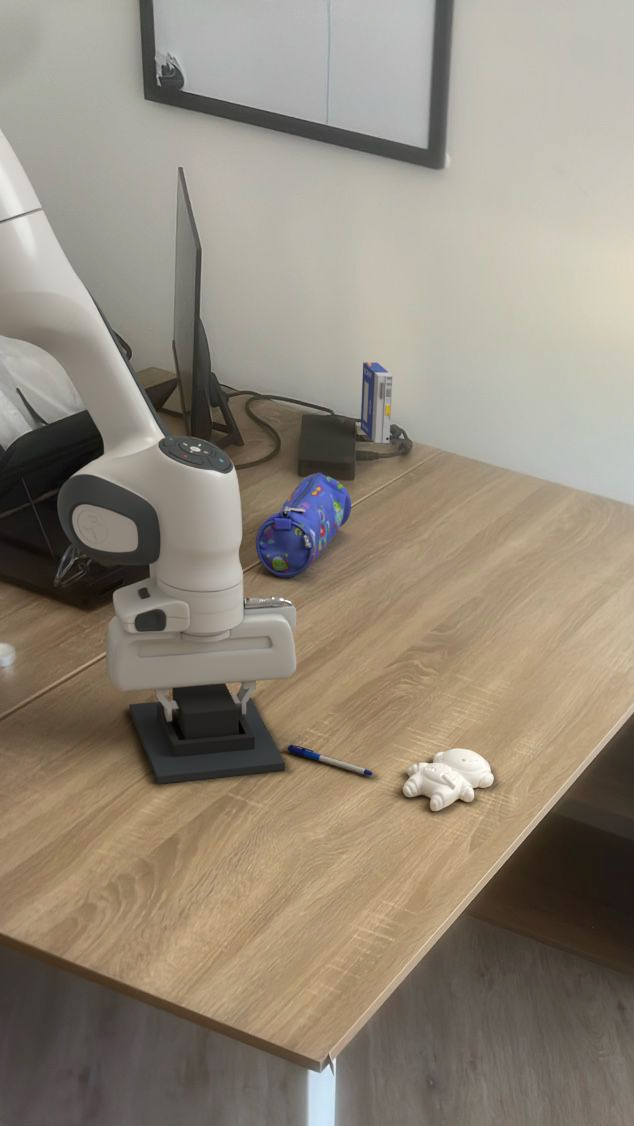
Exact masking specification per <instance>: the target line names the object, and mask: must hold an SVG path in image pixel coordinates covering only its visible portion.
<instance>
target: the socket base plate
mask: <svg viewBox="0 0 634 1126" xmlns="http://www.w3.org/2000/svg"><path fill="white" fill-rule="evenodd" d="M128 709H129V713H130V717H131V718H132V721H133V724H134V727H135V728H136V729H135V730H136V731H137V734H138V736H139V739H140V742H141V744H142V747H143V750H144V752H145V755H146V757H147V760H148V762H149V765H150V767H151V770H152V773H153V775H154V777H155V780H156V783H157V785H163V784H172V783H181V782H190V781H191V782H192V781H200V780H209V779H218V778H226V777H235V776H245V775H255V774H263V773H272V772H281V771H282V772H283V771H286V762H285V760H284V758H283V756H282V755H281V753H280V750H279V749H278V747H277V745H276V743H275V741H274V739H273V737H272V736H271V734H270V732H269V730H268V727H267V726H266V724H265V722H264V721H263V719H262V718H263V717H261V715H260V713H259V711H258V709H257V707H256V705H255V703H254V701H253V699H252V696H251V697H250V698H249V700H248V701H247V702H246V715H238V726H239V735H231V736H220V737H210V738H200V739H190V740H183V738H182V736H181V734H180V731H179V729H178V727H177V725H176V722H175V721H172V722H167V720H166V717H165V713H164V706H163V705H162V703H161V702H160V701H153V702H141V703H140V702H139V703H129V705H128Z"/></svg>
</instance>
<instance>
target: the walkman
mask: <svg viewBox="0 0 634 1126" xmlns="http://www.w3.org/2000/svg"><path fill="white" fill-rule="evenodd" d="M393 377H394V376H393V375H392V374H391V373H390V372H389V371H388V370H386V369H385V368H384V367H383V366H382V365H381V364H379V362H370V361H366V362H365V361H364V362H363V363H362V380H361V381H362V384H361V406H360V407H361V409H360V430H361V431H362V432H363V433H364V434H365V435H366V436H367V437H368V438H369V439H370V440H371V441H372V442H373V443H374V444H390V436H391V421H392V420H391V419H392V401H393V398H392V396H393V379H394V378H393Z"/></svg>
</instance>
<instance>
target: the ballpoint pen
mask: <svg viewBox="0 0 634 1126" xmlns="http://www.w3.org/2000/svg"><path fill="white" fill-rule="evenodd" d="M287 751H288V752H290V753H293V754H295V755H298V756H302V757H305V758H308V759H311V760H315V761H318V762H321V763H322V762H323V763H325V764H328V765H331V766H335V767H338V768H342V769H345V770H348V771H351V772H355V773H358V774H361V775H365V776H372V774H373V772H372V771H370V770H369V769H367V768H364V767H360V766H358V765H354V764H351V763H347V762H344V761H340V760H337V759H334V758H331V757H328V756H325V755H322V754H320V753H317V752H314V750H312V749H309V748H306V747H304V746H299V745H296V744H289V746H287Z"/></svg>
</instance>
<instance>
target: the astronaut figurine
mask: <svg viewBox="0 0 634 1126" xmlns="http://www.w3.org/2000/svg"><path fill="white" fill-rule="evenodd" d="M406 773H407V775H408V779H407V781H406V782H405V783H404V785H403V787H402V792H403V795H404V796H405V797H406V798H414V797H415V798H416V797H419V796H425V797H427V798H429V799H430V803H429V808H430V810H431V811H432V812H438V811H441V810H442V809H445V808H447V807H448V806H450V805H452V804H453V803H455V802H456V801H457V800H461V801H462V802H463V801H464V802H465V803H471V802H472V801H473V800H474V798H475V790H474V789H476V788H481V789H486V788H489V787H491V786H492V785H493V783H494V779H495V778H494V774H493V773H492V770H491V766H490V763H489V762H488V761H487V760H486V759H485V758H484V757H482V756H481V755H480V754H478V753H477V752H475V751H473V750H471V749H467V748H451V749H449V750H446V751H439V752H437V753H435V754H434V755H433V758H432V762H430V763H428V762H424V761H423V762H422V761H421V762H418V764H417V763H414V764H412V765H411V766H409V767H408V768H407V769H406Z"/></svg>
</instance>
